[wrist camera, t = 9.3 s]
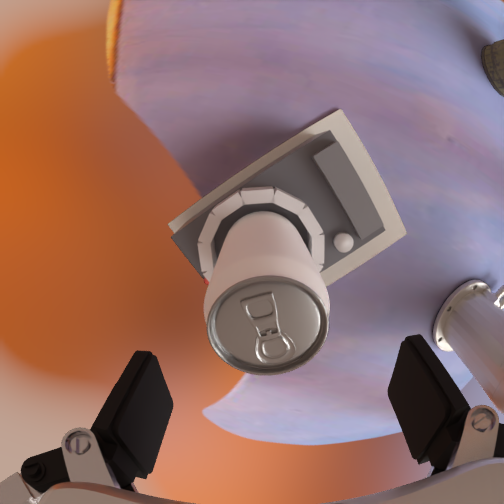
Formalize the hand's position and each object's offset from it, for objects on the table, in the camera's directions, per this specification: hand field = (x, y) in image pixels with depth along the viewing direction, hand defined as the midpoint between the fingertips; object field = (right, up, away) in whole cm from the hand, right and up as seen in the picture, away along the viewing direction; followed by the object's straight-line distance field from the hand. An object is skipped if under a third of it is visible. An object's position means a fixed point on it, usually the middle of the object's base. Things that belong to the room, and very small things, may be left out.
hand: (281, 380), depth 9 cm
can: (0, +5, +14) cm, 15 cm away
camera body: (+2, +8, +19) cm, 21 cm away
